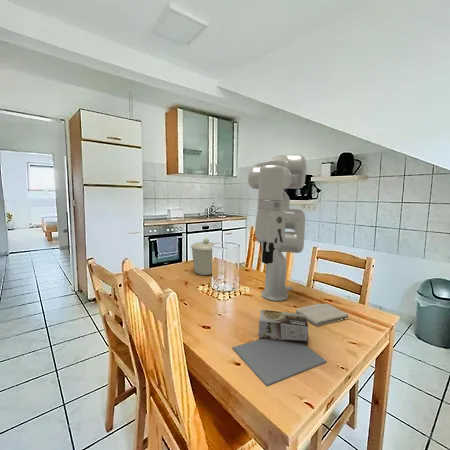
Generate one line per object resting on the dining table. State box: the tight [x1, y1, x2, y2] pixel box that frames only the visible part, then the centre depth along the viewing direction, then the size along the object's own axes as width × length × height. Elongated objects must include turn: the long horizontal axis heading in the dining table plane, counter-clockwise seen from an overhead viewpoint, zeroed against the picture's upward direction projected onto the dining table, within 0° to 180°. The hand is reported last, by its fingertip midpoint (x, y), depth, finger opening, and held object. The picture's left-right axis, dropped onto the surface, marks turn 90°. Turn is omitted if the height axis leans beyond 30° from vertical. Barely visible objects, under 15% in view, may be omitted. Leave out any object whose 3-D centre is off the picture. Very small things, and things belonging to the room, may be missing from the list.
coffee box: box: [257, 309, 309, 345], centre depth 91 cm, size 9×6×16 cm
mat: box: [232, 338, 327, 387], centre depth 80 cm, size 22×18×1 cm
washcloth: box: [295, 303, 349, 327], centre depth 106 cm, size 12×18×3 cm, turn 115°
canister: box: [190, 238, 218, 276], centre depth 157 cm, size 18×18×21 cm
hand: (267, 262), depth 84 cm, fingers closed
